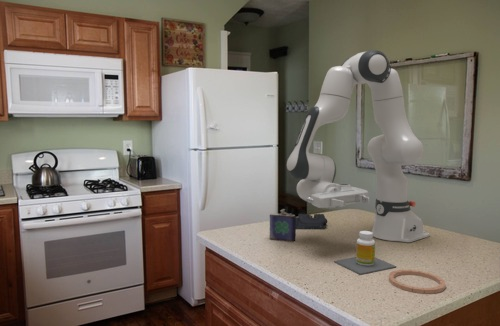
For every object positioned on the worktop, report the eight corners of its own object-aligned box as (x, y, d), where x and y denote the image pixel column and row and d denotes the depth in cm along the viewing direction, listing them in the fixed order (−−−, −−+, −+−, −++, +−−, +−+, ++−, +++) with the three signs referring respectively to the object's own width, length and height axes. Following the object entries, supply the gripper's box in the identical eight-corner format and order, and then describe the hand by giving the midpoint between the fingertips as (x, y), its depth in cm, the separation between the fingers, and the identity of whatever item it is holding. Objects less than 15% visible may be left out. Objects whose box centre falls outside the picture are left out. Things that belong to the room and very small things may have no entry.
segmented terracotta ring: (414, 270, 120) (414, 266, 120) (457, 287, 107) (457, 283, 107) (377, 277, 114) (377, 274, 114) (418, 297, 101) (419, 293, 101)
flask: (268, 239, 151) (269, 209, 150) (270, 237, 154) (271, 207, 153) (294, 242, 148) (295, 211, 147) (296, 240, 151) (297, 209, 149)
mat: (368, 255, 133) (368, 254, 133) (396, 267, 122) (396, 266, 122) (334, 262, 127) (334, 260, 127) (360, 274, 116) (360, 273, 116)
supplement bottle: (375, 267, 121) (376, 235, 120) (356, 265, 122) (357, 234, 121) (373, 261, 126) (374, 230, 125) (355, 259, 128) (356, 229, 127)
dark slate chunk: (273, 221, 180) (273, 211, 180) (322, 221, 181) (323, 211, 180) (276, 230, 165) (276, 219, 165) (330, 230, 165) (330, 219, 165)
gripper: (303, 189, 135) (329, 196, 122) (352, 183, 144) (380, 189, 131) (304, 208, 135) (329, 216, 123) (352, 201, 144) (380, 208, 132)
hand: (356, 202), depth 127 cm, fingers open, 8 cm apart
